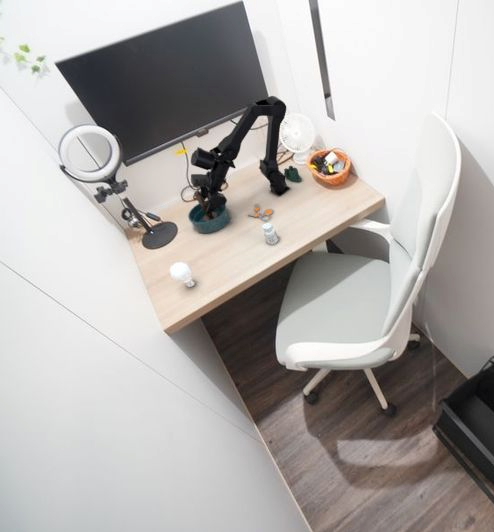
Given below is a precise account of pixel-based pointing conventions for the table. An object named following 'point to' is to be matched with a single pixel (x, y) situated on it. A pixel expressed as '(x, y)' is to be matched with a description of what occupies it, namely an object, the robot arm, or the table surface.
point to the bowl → (212, 225)
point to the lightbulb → (182, 273)
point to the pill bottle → (270, 233)
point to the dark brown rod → (204, 207)
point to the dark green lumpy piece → (292, 174)
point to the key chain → (261, 213)
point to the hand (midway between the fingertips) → (204, 207)
